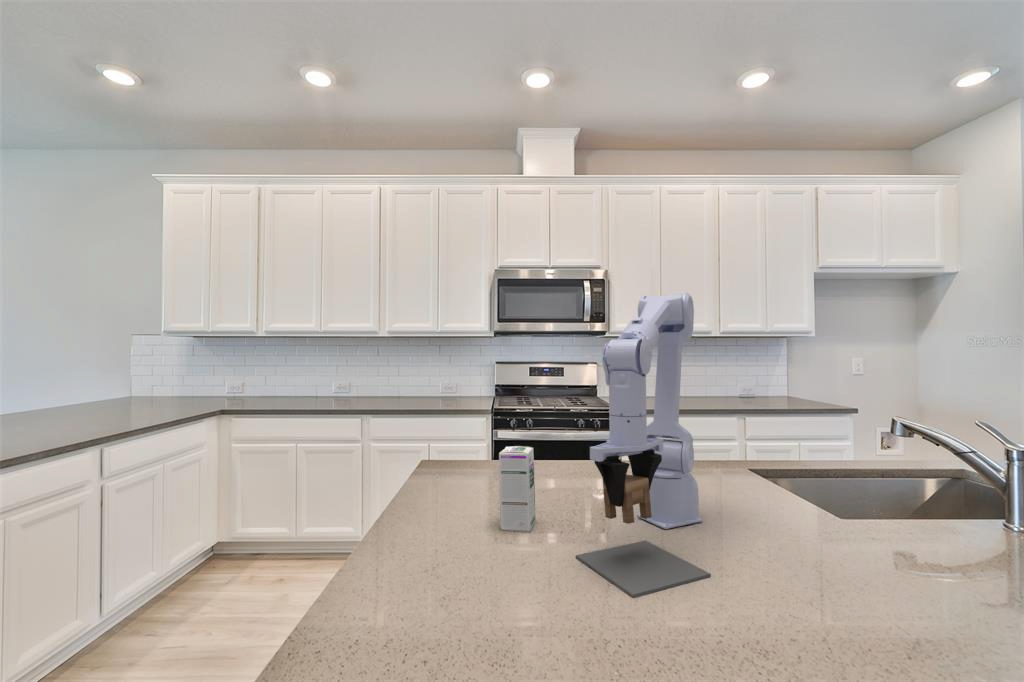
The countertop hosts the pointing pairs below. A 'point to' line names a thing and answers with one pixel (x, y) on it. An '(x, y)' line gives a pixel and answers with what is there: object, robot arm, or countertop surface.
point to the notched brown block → (631, 499)
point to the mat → (641, 568)
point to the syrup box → (517, 488)
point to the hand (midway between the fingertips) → (629, 501)
